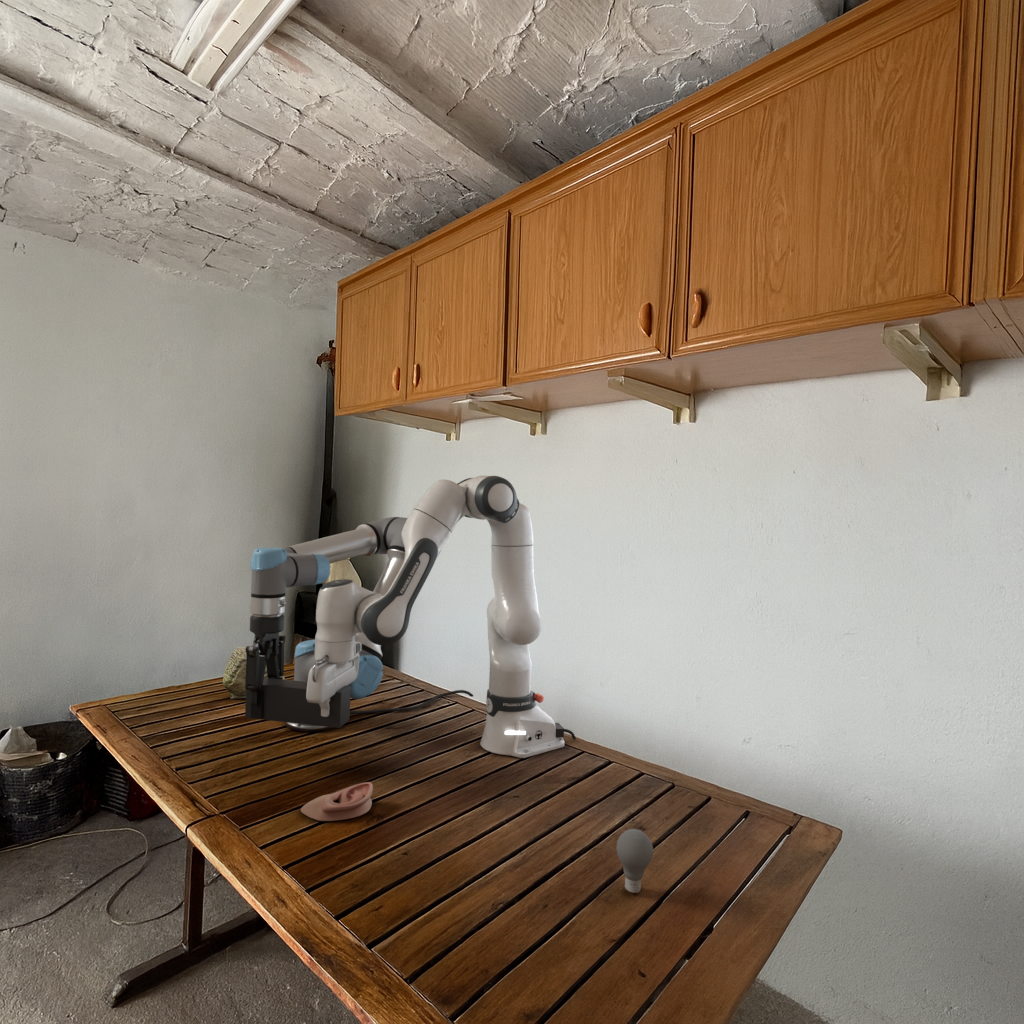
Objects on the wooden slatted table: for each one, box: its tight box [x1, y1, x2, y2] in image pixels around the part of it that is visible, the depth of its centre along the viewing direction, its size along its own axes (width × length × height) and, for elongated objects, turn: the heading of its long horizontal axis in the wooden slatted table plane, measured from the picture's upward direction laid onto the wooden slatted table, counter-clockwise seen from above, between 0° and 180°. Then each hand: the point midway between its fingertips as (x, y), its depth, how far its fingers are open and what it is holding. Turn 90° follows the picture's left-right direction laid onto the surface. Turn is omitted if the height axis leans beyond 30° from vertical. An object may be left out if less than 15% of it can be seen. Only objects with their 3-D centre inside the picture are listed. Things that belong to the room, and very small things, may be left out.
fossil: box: [222, 646, 286, 699], centre depth 198 cm, size 9×18×15 cm, turn 132°
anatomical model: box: [300, 781, 374, 822], centre depth 129 cm, size 13×4×12 cm
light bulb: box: [615, 828, 654, 894], centre depth 106 cm, size 6×6×10 cm
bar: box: [244, 678, 351, 729], centre depth 147 cm, size 23×5×8 cm, turn 81°
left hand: (263, 713), depth 148 cm, fingers closed on bar, 5 cm apart
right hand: (332, 710), depth 145 cm, fingers closed on bar, 5 cm apart
